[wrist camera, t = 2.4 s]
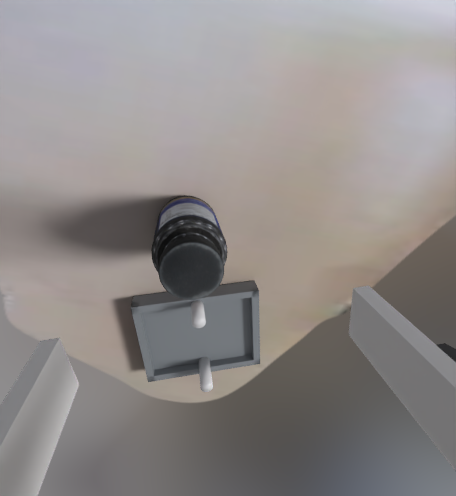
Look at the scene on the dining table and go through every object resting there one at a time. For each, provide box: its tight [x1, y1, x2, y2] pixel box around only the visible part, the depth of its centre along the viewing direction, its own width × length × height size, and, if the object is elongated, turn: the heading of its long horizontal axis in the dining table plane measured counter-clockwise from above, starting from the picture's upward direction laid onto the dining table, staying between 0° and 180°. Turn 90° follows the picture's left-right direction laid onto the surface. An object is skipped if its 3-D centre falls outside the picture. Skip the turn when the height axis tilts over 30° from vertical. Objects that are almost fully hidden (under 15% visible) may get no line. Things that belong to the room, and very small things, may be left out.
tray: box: [131, 281, 260, 392], centre depth 34 cm, size 14×11×5 cm
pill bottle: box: [152, 196, 227, 300], centre depth 26 cm, size 6×6×11 cm
